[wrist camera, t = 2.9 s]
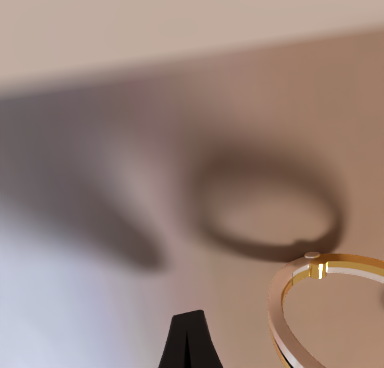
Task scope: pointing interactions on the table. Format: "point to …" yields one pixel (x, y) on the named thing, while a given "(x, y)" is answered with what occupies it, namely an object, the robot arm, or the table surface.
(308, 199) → the table surface
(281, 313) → the ring
